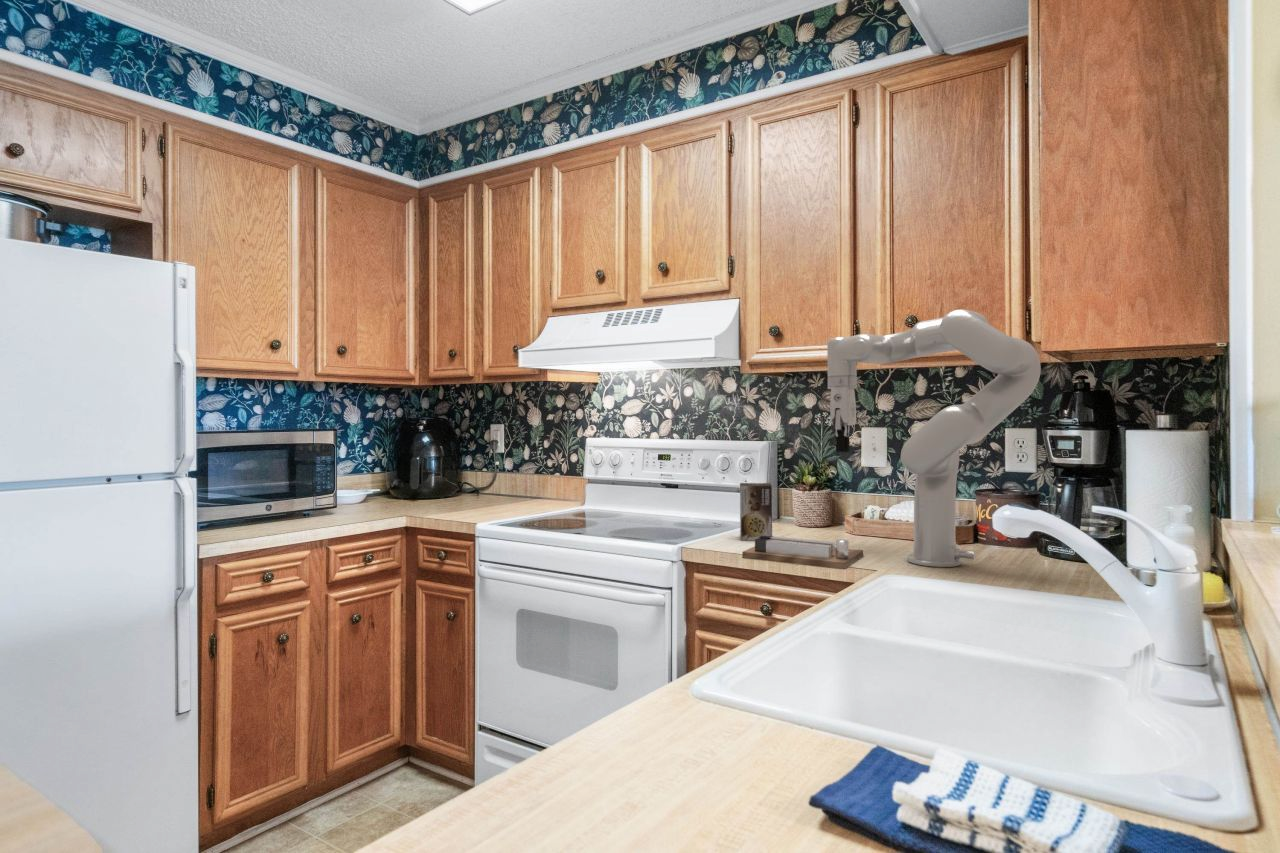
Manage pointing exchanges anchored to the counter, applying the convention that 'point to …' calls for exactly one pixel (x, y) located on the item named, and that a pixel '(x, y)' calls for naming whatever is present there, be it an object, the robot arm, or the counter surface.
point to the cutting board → (805, 558)
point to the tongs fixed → (802, 548)
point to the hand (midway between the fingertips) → (842, 451)
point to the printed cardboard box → (755, 510)
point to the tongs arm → (802, 541)
